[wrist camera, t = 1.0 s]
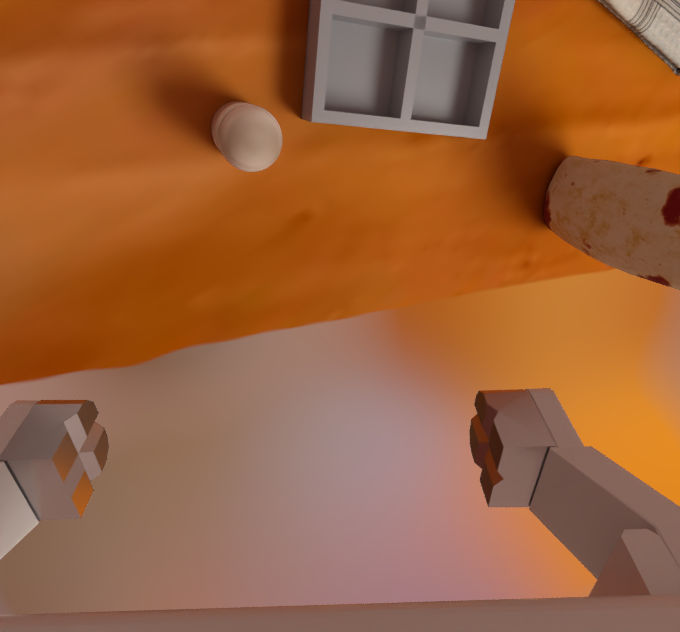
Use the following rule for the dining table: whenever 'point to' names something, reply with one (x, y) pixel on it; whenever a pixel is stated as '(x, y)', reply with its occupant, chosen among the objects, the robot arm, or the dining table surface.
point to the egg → (246, 135)
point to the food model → (619, 215)
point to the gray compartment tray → (405, 64)
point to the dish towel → (652, 25)
